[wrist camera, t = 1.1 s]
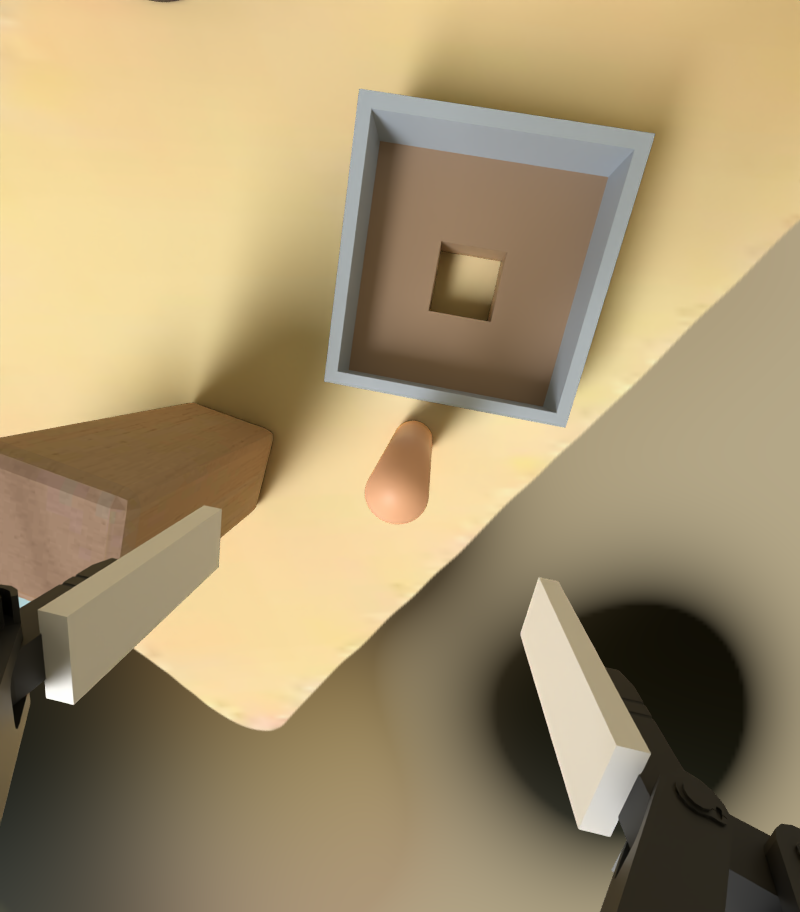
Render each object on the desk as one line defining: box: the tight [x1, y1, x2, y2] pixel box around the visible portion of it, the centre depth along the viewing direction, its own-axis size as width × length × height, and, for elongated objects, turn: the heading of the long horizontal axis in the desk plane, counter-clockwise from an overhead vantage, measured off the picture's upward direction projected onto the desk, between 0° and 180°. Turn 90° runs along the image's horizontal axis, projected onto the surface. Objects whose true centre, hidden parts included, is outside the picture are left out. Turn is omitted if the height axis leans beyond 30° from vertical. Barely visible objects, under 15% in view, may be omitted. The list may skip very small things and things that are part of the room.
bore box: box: [324, 89, 655, 427], centre depth 31 cm, size 20×20×7 cm
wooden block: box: [0, 403, 273, 601], centre depth 31 cm, size 10×10×20 cm
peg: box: [365, 421, 432, 524], centre depth 31 cm, size 4×4×16 cm
